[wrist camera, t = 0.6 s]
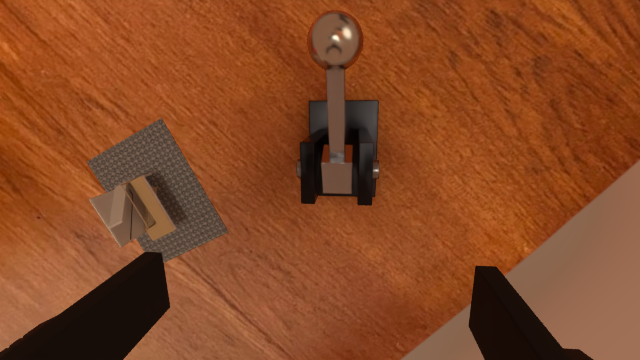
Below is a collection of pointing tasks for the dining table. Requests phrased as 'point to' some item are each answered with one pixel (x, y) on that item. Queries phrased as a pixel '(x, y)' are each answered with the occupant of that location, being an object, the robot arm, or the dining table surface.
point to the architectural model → (153, 195)
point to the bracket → (357, 133)
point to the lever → (335, 91)
